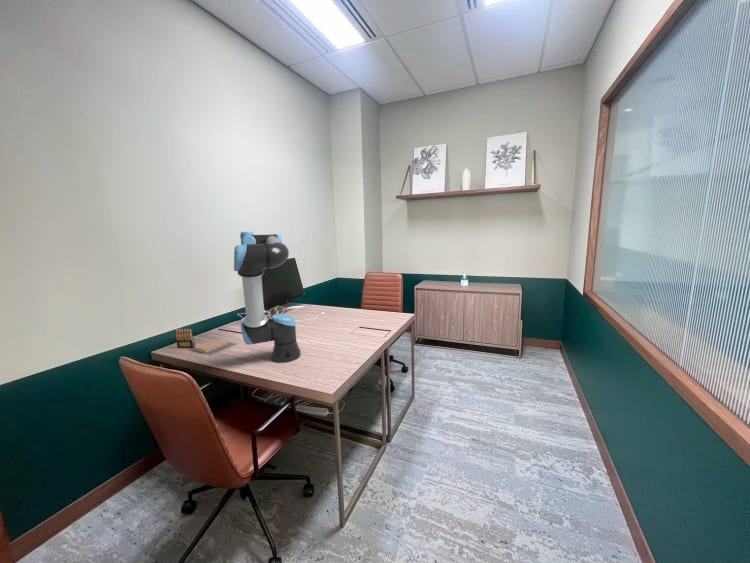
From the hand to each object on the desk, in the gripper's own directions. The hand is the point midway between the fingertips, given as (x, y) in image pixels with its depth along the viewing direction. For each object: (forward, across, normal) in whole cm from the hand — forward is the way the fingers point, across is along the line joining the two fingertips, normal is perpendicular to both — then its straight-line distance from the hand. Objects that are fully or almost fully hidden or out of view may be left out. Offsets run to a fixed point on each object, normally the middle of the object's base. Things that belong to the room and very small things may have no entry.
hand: (253, 295), depth 182 cm
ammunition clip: (+29, +31, +26) cm, 50 cm away
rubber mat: (+29, +16, +19) cm, 38 cm away
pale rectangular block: (+28, +16, +13) cm, 35 cm away
